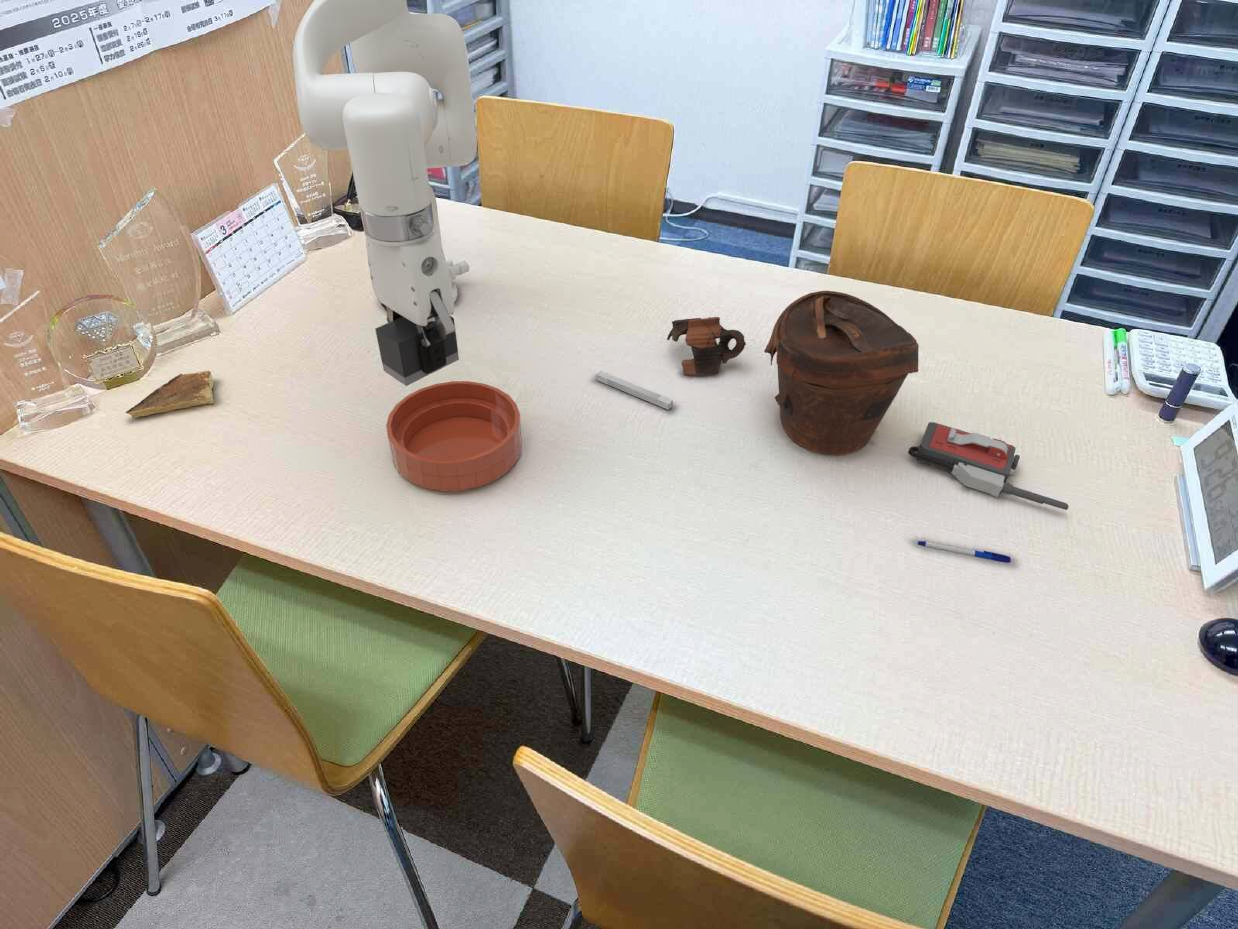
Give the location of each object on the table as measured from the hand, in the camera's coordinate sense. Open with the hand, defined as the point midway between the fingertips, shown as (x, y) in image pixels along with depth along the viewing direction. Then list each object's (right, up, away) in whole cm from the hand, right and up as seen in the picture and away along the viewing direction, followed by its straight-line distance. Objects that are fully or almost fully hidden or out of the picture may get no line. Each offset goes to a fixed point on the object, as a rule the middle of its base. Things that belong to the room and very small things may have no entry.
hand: (420, 358), depth 101 cm
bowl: (+3, -11, +8) cm, 14 cm away
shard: (-37, -5, +15) cm, 40 cm away
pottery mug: (+37, +3, +26) cm, 46 cm away
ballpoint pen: (+65, -24, -3) cm, 69 cm away
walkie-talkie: (+72, -14, +7) cm, 74 cm away
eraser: (0, -1, +1) cm, 1 cm away
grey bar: (+26, -3, +19) cm, 33 cm away
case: (+53, -8, +14) cm, 55 cm away
